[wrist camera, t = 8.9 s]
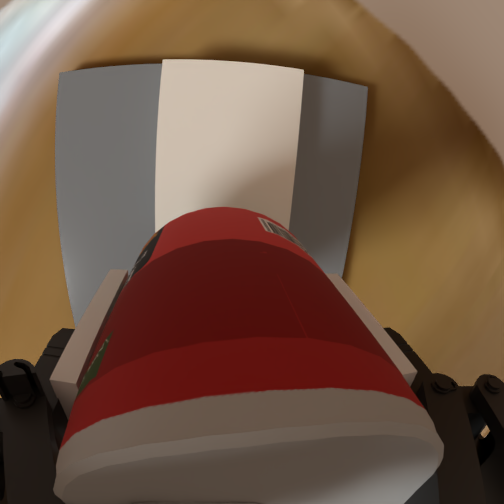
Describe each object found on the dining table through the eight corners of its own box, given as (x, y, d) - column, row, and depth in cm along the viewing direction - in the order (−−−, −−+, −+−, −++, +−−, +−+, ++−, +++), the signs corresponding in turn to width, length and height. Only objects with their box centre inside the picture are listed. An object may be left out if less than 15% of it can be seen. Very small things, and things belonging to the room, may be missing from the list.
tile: (287, 238, 17) (304, 69, 14) (155, 234, 16) (162, 59, 13) (281, 229, 19) (295, 74, 16) (159, 225, 18) (166, 66, 14)
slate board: (321, 338, 24) (325, 347, 23) (84, 334, 21) (79, 343, 20) (359, 88, 17) (367, 86, 16) (67, 75, 15) (59, 72, 13)
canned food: (124, 209, 13) (-35, 410, 2) (311, 196, 14) (514, 354, 3) (152, 355, 15) (128, 561, 5) (304, 341, 16) (387, 530, 6)
